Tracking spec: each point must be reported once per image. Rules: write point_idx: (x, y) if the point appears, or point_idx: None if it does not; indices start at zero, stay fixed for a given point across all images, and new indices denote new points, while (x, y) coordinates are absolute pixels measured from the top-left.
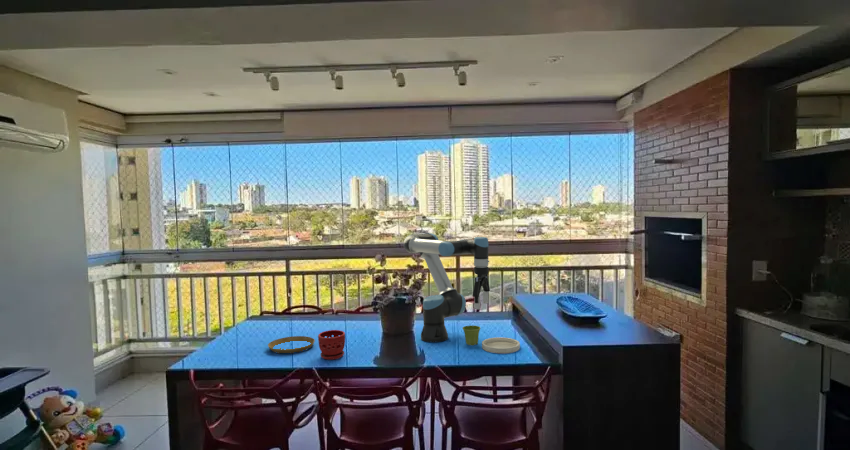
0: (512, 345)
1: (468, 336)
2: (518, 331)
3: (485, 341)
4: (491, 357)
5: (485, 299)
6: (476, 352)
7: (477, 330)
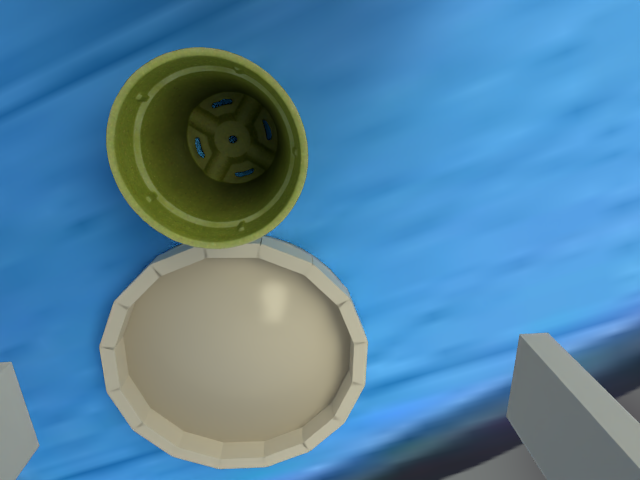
0: (282, 407)
1: (154, 141)
2: (634, 331)
3: (241, 255)
4: (29, 362)
5: (559, 445)
6: (64, 246)
7: (185, 233)
